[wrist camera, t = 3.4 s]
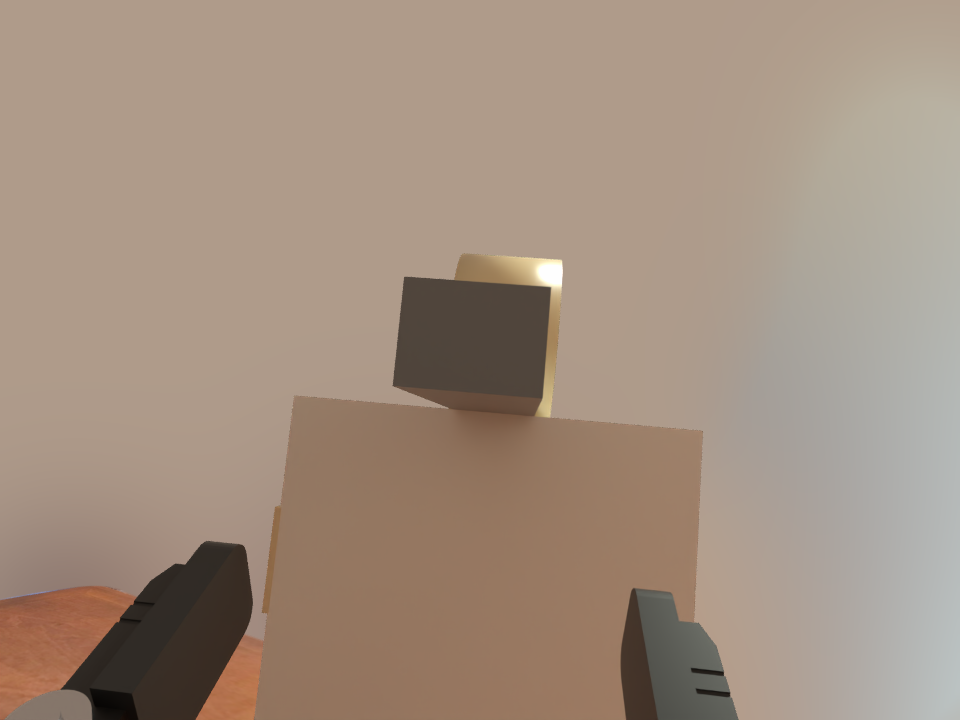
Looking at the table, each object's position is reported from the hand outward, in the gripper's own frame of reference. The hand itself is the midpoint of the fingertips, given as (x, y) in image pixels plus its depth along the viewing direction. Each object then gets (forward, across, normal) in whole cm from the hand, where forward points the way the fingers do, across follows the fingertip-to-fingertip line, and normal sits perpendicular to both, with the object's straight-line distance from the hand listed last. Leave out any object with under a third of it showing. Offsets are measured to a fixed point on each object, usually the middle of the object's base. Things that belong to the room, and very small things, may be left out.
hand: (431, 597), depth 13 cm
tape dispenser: (+16, 0, +4) cm, 17 cm away
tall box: (+7, 0, +36) cm, 37 cm away
